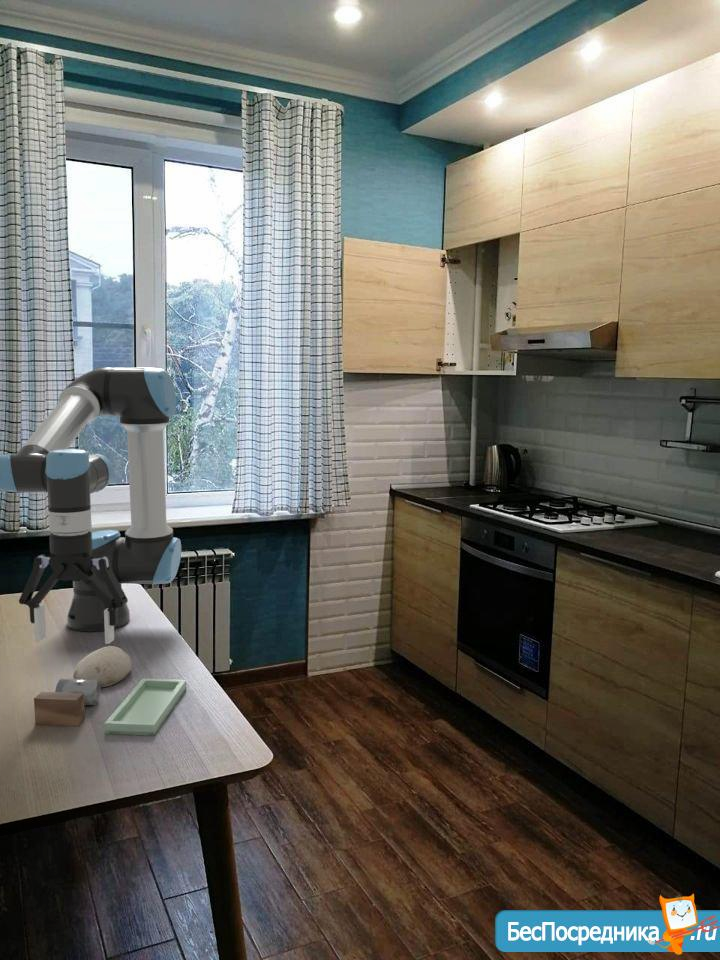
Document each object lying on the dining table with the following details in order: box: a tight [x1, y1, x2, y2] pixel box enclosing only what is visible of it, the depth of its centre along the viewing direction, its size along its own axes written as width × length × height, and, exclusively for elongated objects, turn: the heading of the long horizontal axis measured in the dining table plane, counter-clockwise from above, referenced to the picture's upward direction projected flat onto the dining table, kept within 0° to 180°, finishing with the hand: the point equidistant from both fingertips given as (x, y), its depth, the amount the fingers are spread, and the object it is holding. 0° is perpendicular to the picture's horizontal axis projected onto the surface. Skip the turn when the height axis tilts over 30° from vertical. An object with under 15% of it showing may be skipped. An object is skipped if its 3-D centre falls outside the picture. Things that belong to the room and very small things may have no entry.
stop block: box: [33, 691, 86, 727], centre depth 142 cm, size 3×8×5 cm, turn 87°
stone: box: [73, 645, 133, 688], centre depth 162 cm, size 13×10×8 cm
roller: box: [54, 677, 102, 706], centre depth 150 cm, size 5×7×5 cm
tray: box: [103, 678, 187, 737], centre depth 147 cm, size 20×9×2 cm, turn 176°
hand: (75, 640), depth 148 cm, fingers open, 13 cm apart
